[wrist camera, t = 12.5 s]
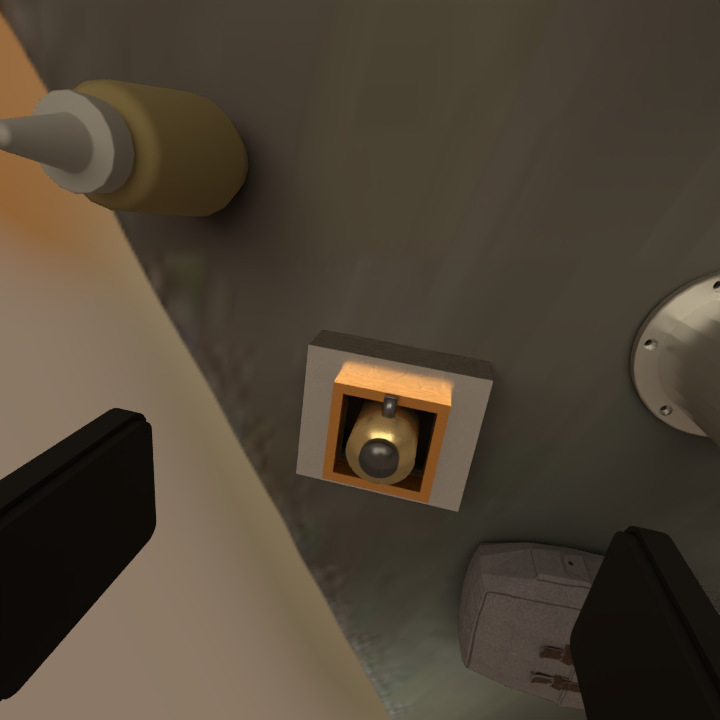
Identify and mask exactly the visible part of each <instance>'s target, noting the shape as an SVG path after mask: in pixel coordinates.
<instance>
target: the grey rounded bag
mask: <svg viewBox="0 0 720 720" xmlns="http://www.w3.org/2000/svg"><path fill="white" fill-rule="evenodd" d="M604 557H605V556H602V555H597V554H593V553H589V552H584V551H581V550H577V549H574V548H570V547H563V546H555V545H547V544H538V543H530V542H480V544H479V546H478V548H477V550H476V552H475V554H474V555H473V557H472V559H471V561H470V563H469V566H468V569H467V573H466V576H465V579H464V582H463V586H462V594H461V602H460V610H459V619H458V631H459V640H460V649H461V657H462V661H463V663H464V665H465V667H466V668H468V669H470V670H472V671H475V672H477V673H479V674H481V675H483V676H486V677H488V678H490V679H492V680H494V681H497V682H499V683H501V684H503V685H504V686H506V687H509V688H513V689H516V690H519V691H522V692H525V693H528V694H531V695H534V696H537V697H540V698H543V699H546V700H549V701H552V702H555V703H556V704H557V706H562V707H569V708H575V709H582V710H585V708H584V704H583V700H582V696H581V692H580V688H579V684H578V680H577V676H576V672H575V668H574V664H573V660H572V656H571V652H570V636H571V632H572V629H573V627H574V624H575V622H576V620H577V618H578V615H579V613H580V611H581V609H582V606H583V604H584V602H585V600H586V597H587V595H588V593H589V591H590V588H591V586H592V584H593V582H594V579H595V577H596V575H597V573H598V570H599V568H600V566H601V564H602V561H603V559H604Z"/></svg>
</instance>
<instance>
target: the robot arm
mask: <svg viewBox="0 0 720 720" xmlns="http://www.w3.org/2000/svg"><path fill="white" fill-rule="evenodd" d="M716 282H717V285H716V286H715V287H713V285H714V284H715V283H716ZM649 339H650V341H649V343H647V344H645V342H646V341H647V340H649ZM630 373H631V377H632V381H633V385H634V388H635V390H636V392H637V394H638V396H639V398H640V399H641V400H642V402H643V403H644V404H645V405H646V407H647V408H648V409H649V410H650V411H651V412H652V413H653V414H654V415H655V416H656V417H657V418H658V419H660V420H661V421H663V422H665V423H666V424H668V425H669V426H671V427H673V428H675V429H678V430H681V431H683V432H686V433H689V434H694V435H699V436H704V437H709V438H710V439H711V440H712V441H713V442H714V443H715V444H716V445H717V446H718V447H719V448H720V271H718V272H714V273H711V274H709V275H706V276H703V277H700V278H697V279H695V280H693V281H691V282H689V283H688V284H686V285H684V286H682V287H680V288H678V289H677V290H676V291H674V292H673V293H672V294H670V295H669V296H668V297H666V298H665V299H663V300H662V301H661V302H660V303H659V305H658V306H657V307H656V308H655V309H654V310H653V311H652V312H651V313H650V314H649V315H648V317H647V318H646V320H645V321H644V323H643V324H642V326H641V327H640V329H639V331H638V334H637V336H636V338H635V340H634V343H633V347H632V352H631V356H630ZM661 407H662V408H661ZM152 445H153V444H152V428H151V425H150V423H148V422H146V418H145V417H144V415H143V414H141V413H137V412H132V411H128V410H124V409H119V408H113V409H111V410H109V411H107V412H106V413H104V414H103V415H101V416H99V417H98V418H96V419H95V420H93V421H92V422H90V423H89V424H87V425H85V426H84V427H82V428H81V429H79V430H78V431H76V432H74V433H73V434H72V435H70V436H68V437H67V438H65V439H64V440H62V441H60V442H59V443H58V444H56V445H54V446H53V447H51V448H50V449H48V450H47V451H45V452H43V453H42V454H40V455H39V456H37V457H36V458H34V459H32V460H31V461H29V462H28V463H26V464H25V465H23V466H22V467H20V468H18V469H17V470H15V471H14V472H12V473H11V474H9V475H8V476H6V477H5V478H3V479H1V480H0V701H1V700H2V699H8V698H10V697H11V696H13V695H14V694H15V693H17V691H19V690H20V688H21V687H22V686H23V685H24V684H25V682H26V681H28V679H29V678H30V677H31V676H32V675H33V673H34V672H35V671H36V670H37V669H38V668H39V667H40V666H41V664H42V663H43V662H44V661H45V660H46V659H47V657H48V656H49V655H50V654H51V653H52V652H53V651H54V649H55V648H56V647H57V646H58V645H59V643H60V642H61V641H62V640H63V639H64V638H65V637H66V635H67V634H68V633H69V632H70V631H71V630H72V628H74V626H75V625H76V624H77V623H78V622H79V621H80V619H81V618H82V617H83V616H84V615H85V614H86V613H87V611H88V610H89V609H90V608H91V607H92V606H93V604H94V603H95V602H96V601H97V600H98V599H99V597H100V596H101V595H102V594H103V593H104V592H105V590H106V589H107V588H108V587H109V586H110V585H111V584H112V583H113V581H114V580H115V579H116V578H117V577H118V576H119V574H120V573H121V572H122V571H123V570H124V569H125V567H126V566H127V565H128V564H129V563H130V562H131V561H132V560H133V558H134V557H135V556H136V555H137V554H138V553H139V551H140V550H141V549H142V548H143V547H144V546H145V544H146V543H147V542H148V541H149V540H150V538H151V536H152V535H153V532H154V530H155V526H156V510H155V509H156V508H155V486H154V465H153V446H152ZM570 652H571V656H572V660H573V664H574V668H575V672H576V676H577V680H578V684H579V688H580V692H581V696H582V700H583V704H584V708H585V712H586V716H587V720H720V616H719V615H718V613H717V611H716V610H715V608H714V607H713V605H712V603H711V602H710V600H709V598H708V597H707V595H706V594H705V592H704V590H703V589H702V587H701V586H700V584H699V582H698V581H697V579H696V578H695V576H694V574H693V573H692V571H691V570H690V568H689V566H688V565H687V563H686V561H685V560H684V558H683V557H682V555H681V553H680V552H679V550H678V549H677V547H676V545H675V544H674V542H673V541H672V539H671V538H670V537H669V536H668V535H667V534H665V533H662V532H657V531H653V530H649V529H644V528H640V527H636V526H629V527H628V528H627V529H626V530H625V532H621V531H619V532H617V533H615V535H614V537H613V539H612V541H611V543H610V546H609V548H608V550H607V552H606V555H605V557H604V559H603V561H602V564H601V566H600V568H599V570H598V573H597V575H596V577H595V579H594V582H593V584H592V586H591V588H590V591H589V593H588V595H587V597H586V600H585V602H584V604H583V606H582V609H581V611H580V613H579V615H578V618H577V620H576V622H575V624H574V627H573V629H572V632H571V636H570Z"/></svg>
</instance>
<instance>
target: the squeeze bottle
mask: <svg viewBox="0 0 720 720" xmlns="http://www.w3.org/2000/svg"><path fill="white" fill-rule="evenodd" d="M0 149H1V150H4V151H6V152H9V153H13V154H16V155H19V156H22V157H25V158H28V159H31V160H34V161H37V162H39V163H40V164H41V166H42V168H43V170H44V171H45V173H46V174H47V175H48V176H49V177H50V178H51V179H52V180H53V181H54V182H55V183H57V184H58V185H59V186H60V187H62V188H64V189H66V190H69V191H71V192H73V193H76V194H78V193H79V194H80V193H81V194H84V195H85V196H86V197H87V198H88V199H89V200H90V201H92V202H94V203H96V204H98V205H101V206H103V207H105V208H108V209H110V210H116V211H127V212H139V213H151V214H163V215H175V216H187V217H194V216H209V215H211V214H213V213H215V212H217V211H219V210H221V209H223V208H224V207H226V205H227V204H228V203H229V202H230V201H231V199H232V198H233V197H234V196H235V195H236V193H237V192H238V191H239V189H240V188H241V187H242V185H243V184H244V183H245V180H246V176H247V172H248V168H249V164H248V154H247V149H246V147H245V145H244V143H243V140H242V138H241V136H240V134H239V133H238V131H237V130H236V128H235V127H234V125H233V123H232V122H231V120H230V119H229V118H228V117H227V116H226V115H225V114H224V113H223V112H222V111H221V110H220V109H219V108H218V107H217V106H216V105H215V104H214V103H213V102H212V101H211V100H208V99H206V98H203V97H201V96H199V95H196V94H194V93H192V92H186V91H180V90H173V89H167V88H161V87H154V86H148V85H141V84H135V83H128V82H122V81H115V80H109V79H102V80H89V81H84V82H83V83H81V84H80V85H78V86H77V87H76V88H74V89H73V90H55V91H51V92H50V93H49V94H47V95H46V96H44V97H43V98H42V99H40V100H39V102H38V104H37V106H36V108H35V110H34V112H33V114H32V116H26V117H17V118H9V119H0Z"/></svg>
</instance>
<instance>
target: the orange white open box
mask: <svg viewBox="0 0 720 720" xmlns="http://www.w3.org/2000/svg"><path fill="white" fill-rule="evenodd" d="M492 384H493V377H492V372H491V367H490V362H489V361H483V360H478V359H473V358H468V357H463V356H457V355H452V354H447V353H442V352H436V351H431V350H426V349H421V348H415V347H410V346H405V345H400V344H395V343H389V342H384V341H379V340H374V339H368V338H363V337H358V336H353V335H348V334H342V333H337V332H332V331H327V330H322V331H321V332H320V333H319V334H318V335H317V336H316V337H315V338H314V339H313V340H312V342H311V343H310V344H309V346H308V356H307V367H306V377H305V388H304V398H303V408H302V419H301V429H300V440H299V450H298V460H297V471H296V474H300V475H304V476H308V477H313V478H317V479H321V480H325V481H330V482H334V483H338V484H342V485H347V486H351V487H355V488H359V489H364V490H368V491H372V492H376V493H380V494H385V495H389V496H393V497H397V498H402V499H406V500H410V501H414V502H419V503H423V504H427V505H431V506H436V507H440V508H444V509H448V510H453V511H457V512H458V510H459V506H460V503H461V499H462V495H463V492H464V488H465V484H466V480H467V477H468V473H469V469H470V466H471V462H472V458H473V454H474V451H475V447H476V443H477V440H478V436H479V432H480V428H481V425H482V421H483V417H484V414H485V410H486V406H487V402H488V399H489V395H490V391H491V388H492ZM388 394H391V395H395V396H397V397H398V403H397V405H399V406H404V407H409V408H414V409H418V410H423V411H428V412H433V413H435V416H434V420H433V425H432V429H431V434H430V438H429V443H428V447H427V452H426V456H425V461H424V465H419V464H414V467H413V469H412V471H411V472H410V474H409V475H408V476H407V477H406V478H404V479H403V480H401V481H399V482H397V483H394V484H389V485H379V484H374V483H371V482H368V481H366V480H364V479H362V478H361V477H359V476H358V475H357V474H356V473H355V472H354V471H353V470H352V468H351V467H350V465H349V463H348V461H347V457H346V448H343V447H342V444H343V436H344V429H345V422H346V415H347V408H348V400H349V395H351V396H356V397H361V398H366V399H371V400H375V401H380V402H384V396H385V395H388Z"/></svg>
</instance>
